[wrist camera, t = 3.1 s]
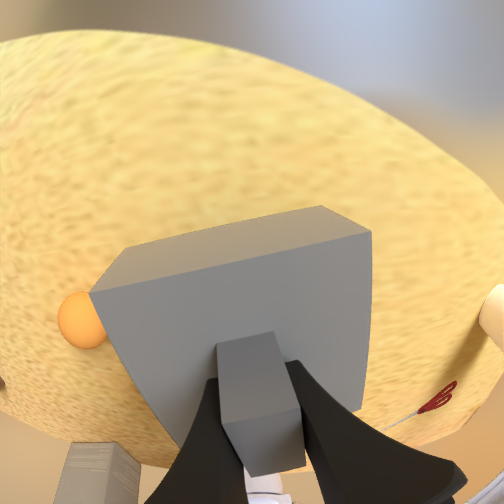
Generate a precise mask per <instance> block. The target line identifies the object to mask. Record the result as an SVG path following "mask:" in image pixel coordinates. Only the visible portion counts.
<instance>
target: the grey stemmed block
mask: <svg viewBox="0 0 504 504" xmlns="http://www.w3.org/2000/svg"><path fill="white" fill-rule="evenodd" d="M88 295H89V297H90V299H91V302H92V304H93V306H94V308H95V310H96V313H97V315H98V317H99V319H100V321H101V323H102V325H103V327H104V329H105V331H106V333H107V335H108V337H109V339H110V341H111V343H112V345H113V347H114V349H115V351H116V353H117V354H118V356H119V358H120V360H121V362H122V363H123V365H124V367H125V369H126V370H127V372H128V374H129V376H130V377H131V379H132V381H133V382H134V384H135V385H136V387H137V389H138V390H139V392H140V393H141V395H142V397H143V398H144V400H145V401H146V403H147V404H148V406H149V407H150V409H151V410H152V412H153V413H154V414H155V416H156V417H157V419H158V420H159V422H160V423H161V424H162V426H163V427H164V428H165V430H166V431H167V432H168V434H169V435H170V436H171V438H172V439H173V440H174V442H175V443H176V444H177V446H178V447H179V448H180V449H181V448H182V446H183V444H184V442H185V440H186V438H187V435H188V433H189V431H190V429H191V426H192V424H193V421H194V419H195V416H196V413H197V411H198V408H199V405H200V402H201V399H202V396H203V392H204V389H205V385H206V381H207V380H208V379H210V378H216V377H218V379H219V394H220V408H221V421H222V425H223V427H224V429H225V431H226V433H227V435H228V437H229V439H230V441H231V443H232V445H233V447H234V449H235V450H236V452H237V454H238V456H239V458H240V460H241V461H242V463H243V465H244V467H245V468H246V470H247V472H248V474H249V475H250V477H251V478H254V477H259V476H265V475H270V474H275V473H279V472H284V471H288V470H292V469H296V468H300V467H304V466H306V457H305V447H304V437H303V428H302V419H301V410H300V405H299V402H298V400H297V397H296V394H295V391H294V388H293V385H292V383H291V380H290V377H289V374H288V371H287V368H286V366H285V362H289V361H293V360H299V361H301V363H302V364H303V366H304V367H305V368H306V369H307V371H308V372H309V373H310V374H311V375H312V377H313V378H314V379H315V380H316V381H317V382H318V383H319V384H320V385H321V386H322V387H323V388H324V389H325V390H326V391H327V392H328V393H329V394H330V395H331V396H332V397H333V398H334V399H335V400H336V401H338V402H339V403H340V404H341V405H342V406H343V407H345V408H346V409H347V410H348V411H350V412H351V413H352V412H354V411H357V410H360V409H361V406H362V400H363V393H364V386H365V378H366V370H367V361H368V350H369V338H370V324H371V304H372V235H371V231H370V230H368V229H367V228H365V227H363V226H361V225H359V224H357V223H355V222H353V221H351V220H349V219H348V218H346V217H344V216H342V215H340V214H338V213H336V212H334V211H332V210H330V209H328V208H326V207H324V206H322V205H320V206H314V207H309V208H304V209H299V210H294V211H289V212H284V213H279V214H274V215H269V216H264V217H259V218H254V219H250V220H245V221H240V222H236V223H231V224H226V225H222V226H217V227H213V228H208V229H204V230H199V231H195V232H191V233H186V234H182V235H178V236H173V237H169V238H165V239H161V240H157V241H153V242H149V243H144V244H140V245H136V246H132V247H128V248H125V249H124V250H123V251H122V253H121V254H120V255H119V256H118V257H117V258H116V260H115V261H114V262H113V263H112V264H111V265H110V267H109V268H108V269H107V270H106V272H105V273H104V274H103V275H102V276H101V278H100V279H99V280H98V281H97V283H96V284H95V285H94V286H93V288H92V289H91V290H90V291H89V293H88Z"/></svg>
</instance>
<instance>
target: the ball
mask: <svg viewBox="0 0 504 504" xmlns="http://www.w3.org/2000/svg"><path fill="white" fill-rule="evenodd" d="M58 325H59V329H60V331H61V334H62V335H63V337H64V338H65V339H66V340H67V341H68V342H69V343H70V344H71V345H73V346H75V347H77V348H80V349H92V348H95V347H97V346H99V345H100V344H102V343H103V342H104V341H105V339H106V338H107V336H108V335H107V333H106V331H105V329H104V327H103V325H102V323H101V321H100V319H99V317H98V315H97V313H96V310H95V308H94V306H93V304H92V302H91V299H90V297H89V295H88V293H87V292H78V293H74V294H72V295H70V296H68V297H67V298H66V299H65V300H64V301H63V303H62V304H61V306H60V308H59V312H58Z"/></svg>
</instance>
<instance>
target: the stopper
mask: <svg viewBox="0 0 504 504" xmlns="http://www.w3.org/2000/svg"><path fill="white" fill-rule="evenodd" d="M4 384H5V383H4V381H3V380H2V378H1V377H0V390H1V389H2V387H3V386H4Z"/></svg>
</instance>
